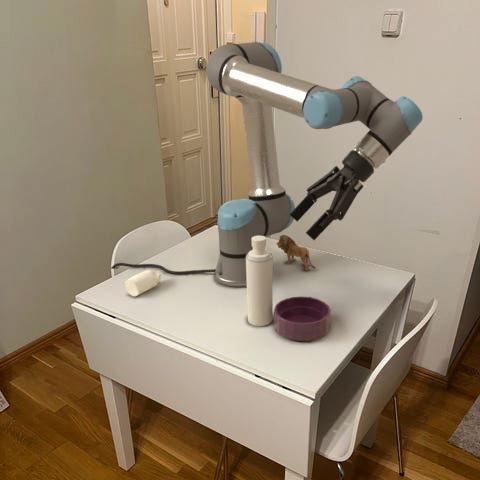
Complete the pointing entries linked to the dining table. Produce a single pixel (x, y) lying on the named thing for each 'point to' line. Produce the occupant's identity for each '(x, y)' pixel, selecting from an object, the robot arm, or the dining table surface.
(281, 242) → the lion figurine
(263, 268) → the spray bottle
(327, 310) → the bowl
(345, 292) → the dining table surface
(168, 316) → the dining table surface
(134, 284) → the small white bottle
